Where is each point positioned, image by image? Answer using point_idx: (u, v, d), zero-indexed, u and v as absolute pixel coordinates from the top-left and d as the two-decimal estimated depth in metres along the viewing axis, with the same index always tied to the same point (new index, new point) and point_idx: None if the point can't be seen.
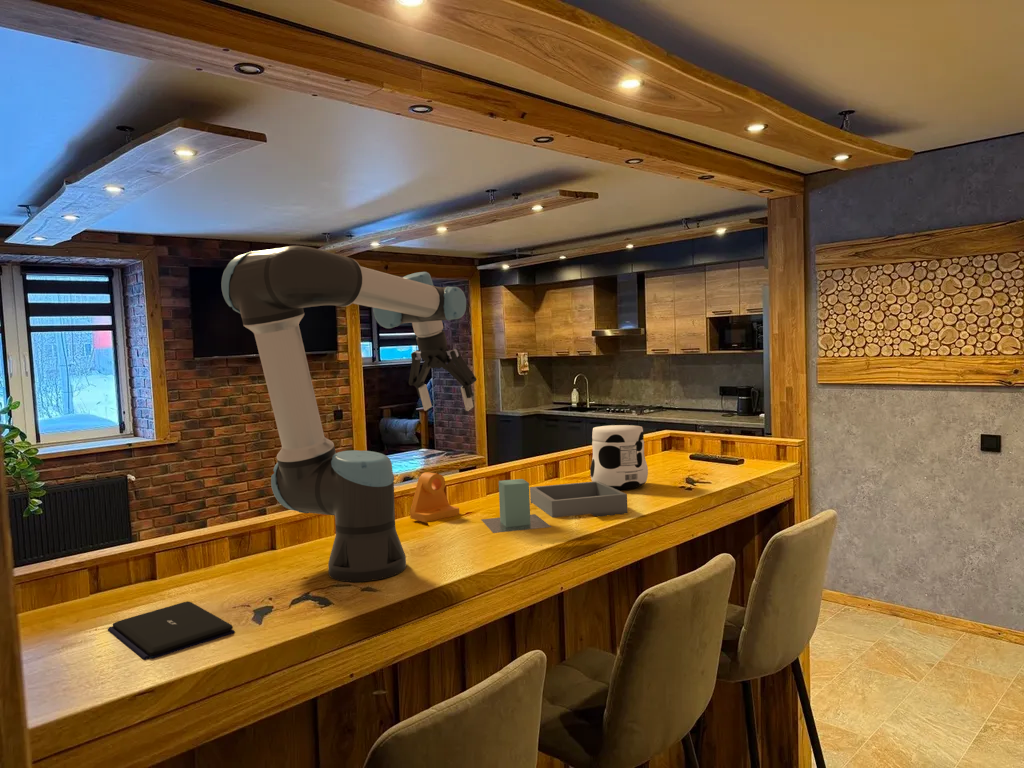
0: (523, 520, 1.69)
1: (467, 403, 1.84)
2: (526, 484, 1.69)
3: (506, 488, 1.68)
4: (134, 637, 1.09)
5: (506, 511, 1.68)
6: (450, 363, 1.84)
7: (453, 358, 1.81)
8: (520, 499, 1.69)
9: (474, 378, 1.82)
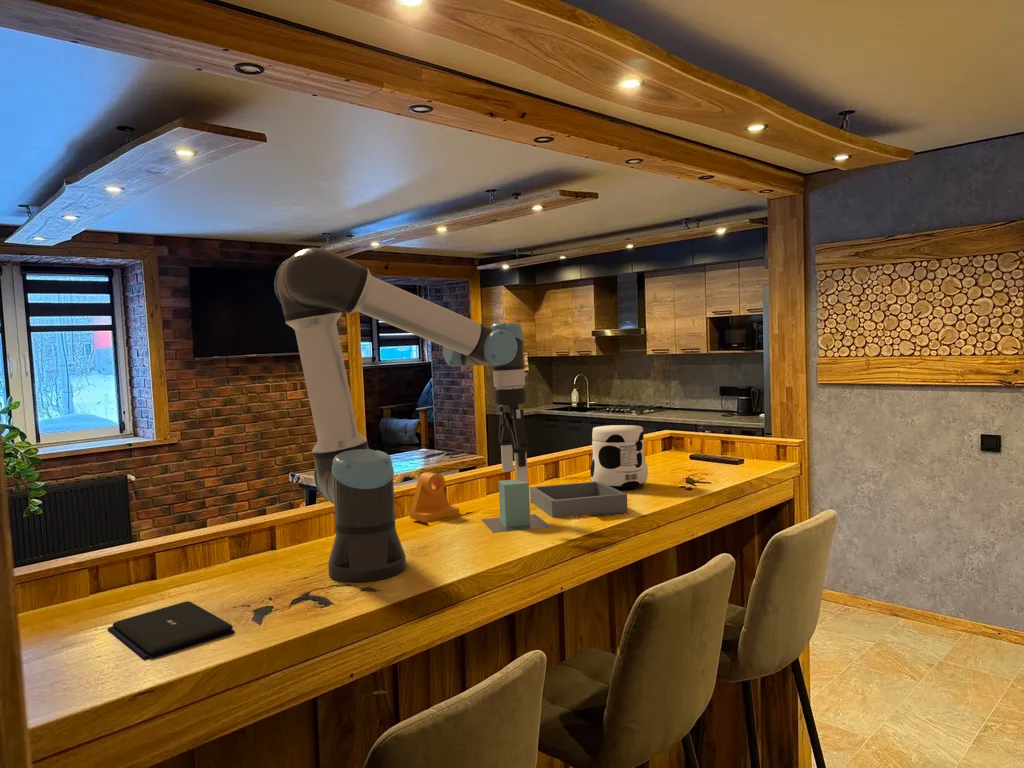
0: (523, 520, 1.69)
1: (517, 472, 1.64)
2: (526, 484, 1.69)
3: (506, 488, 1.68)
4: (134, 637, 1.09)
5: (506, 511, 1.68)
6: None
7: (513, 418, 1.64)
8: (520, 499, 1.69)
9: (526, 446, 1.62)
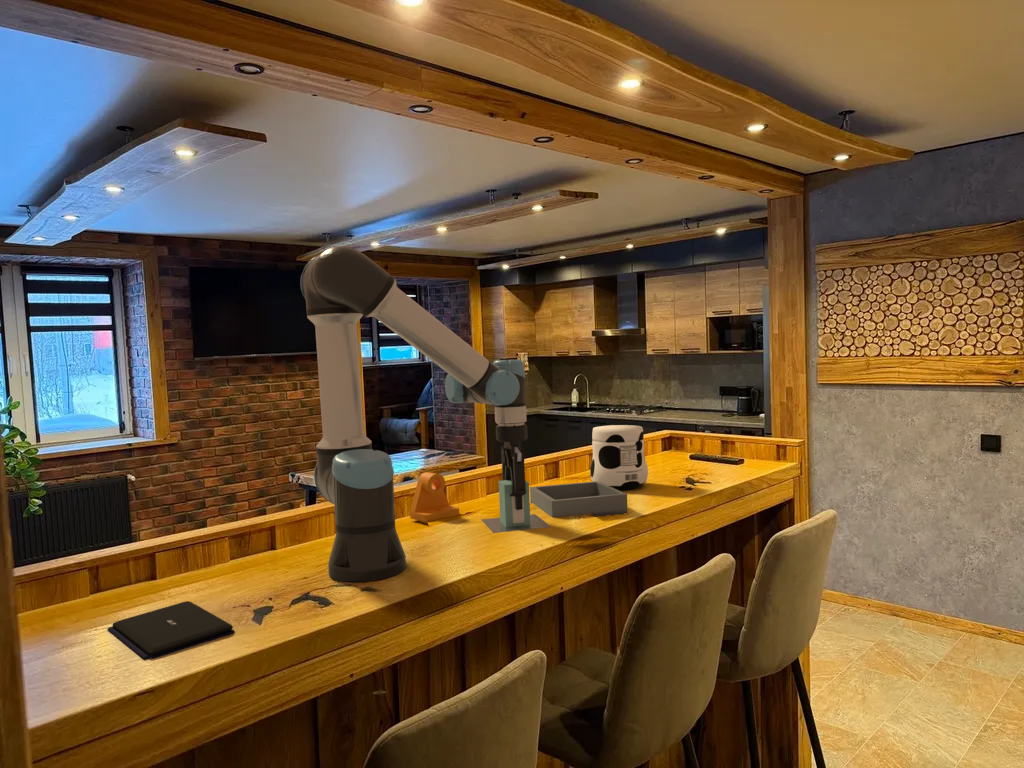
0: None
1: (514, 515, 1.68)
2: (526, 484, 1.69)
3: (506, 488, 1.68)
4: (134, 637, 1.09)
5: (506, 511, 1.68)
6: None
7: (513, 460, 1.65)
8: None
9: (523, 491, 1.65)
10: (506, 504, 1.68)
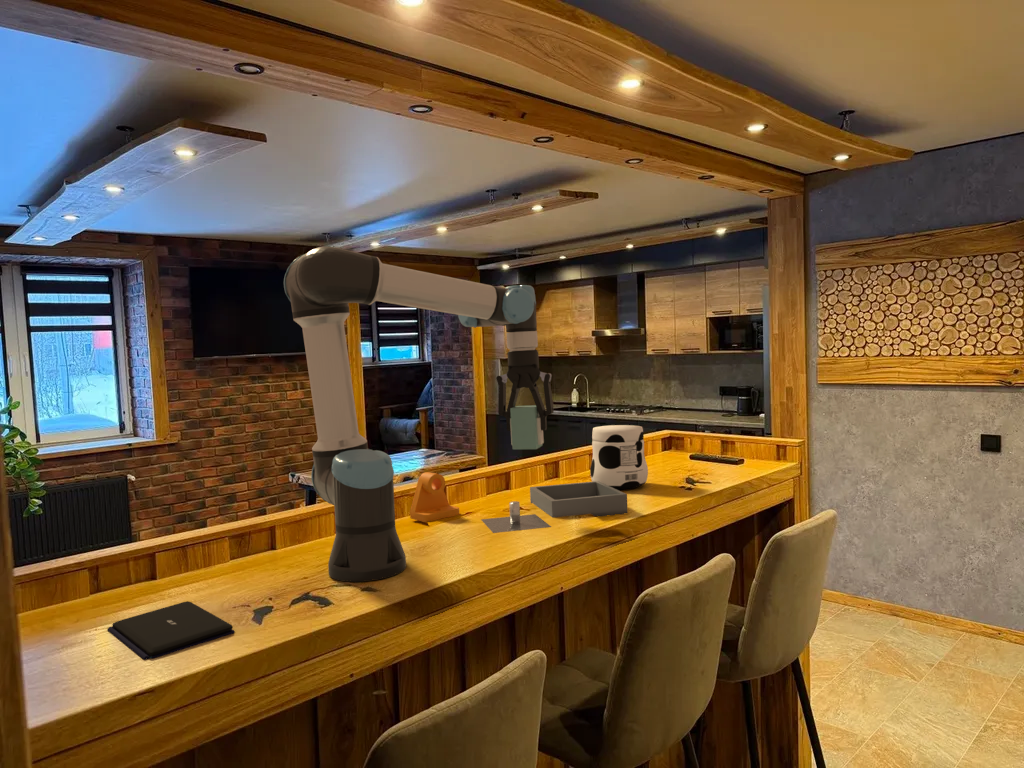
0: None
1: (540, 436, 1.72)
2: None
3: (535, 411, 1.71)
4: (134, 637, 1.09)
5: (536, 433, 1.71)
6: (536, 387, 1.73)
7: (545, 381, 1.71)
8: None
9: (552, 410, 1.73)
10: (535, 426, 1.71)
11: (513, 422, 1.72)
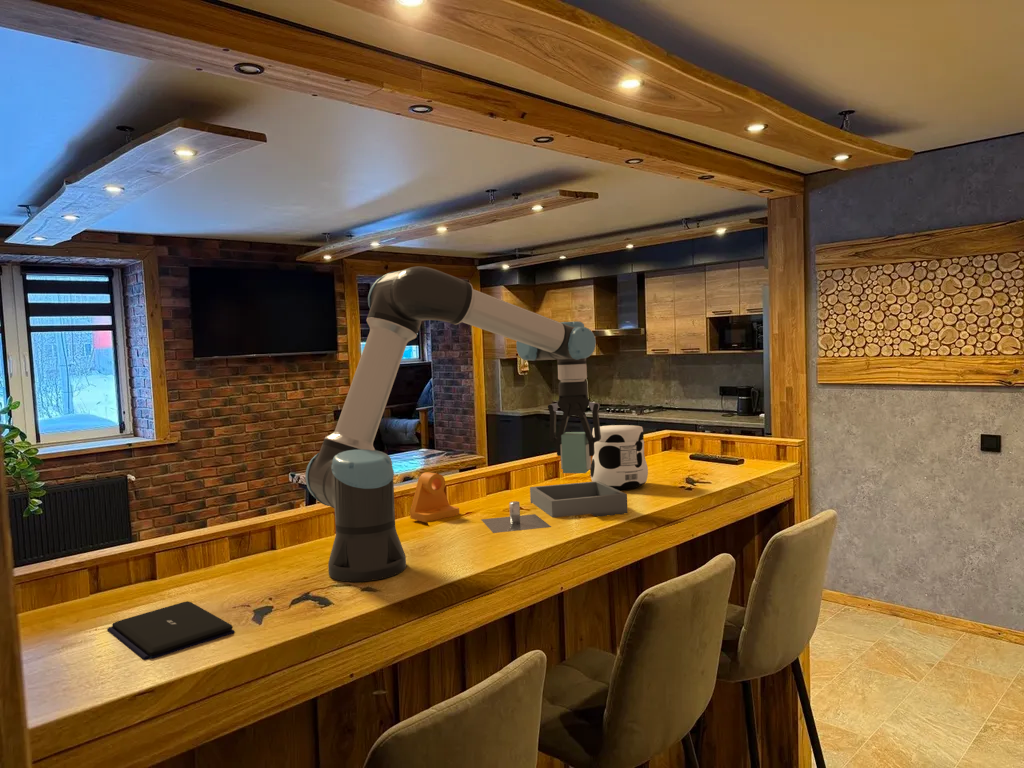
0: None
1: (589, 461, 1.86)
2: None
3: (584, 437, 1.84)
4: (134, 637, 1.09)
5: (585, 458, 1.84)
6: (585, 416, 1.87)
7: (594, 410, 1.84)
8: None
9: (600, 437, 1.86)
10: (585, 452, 1.84)
11: (564, 448, 1.85)
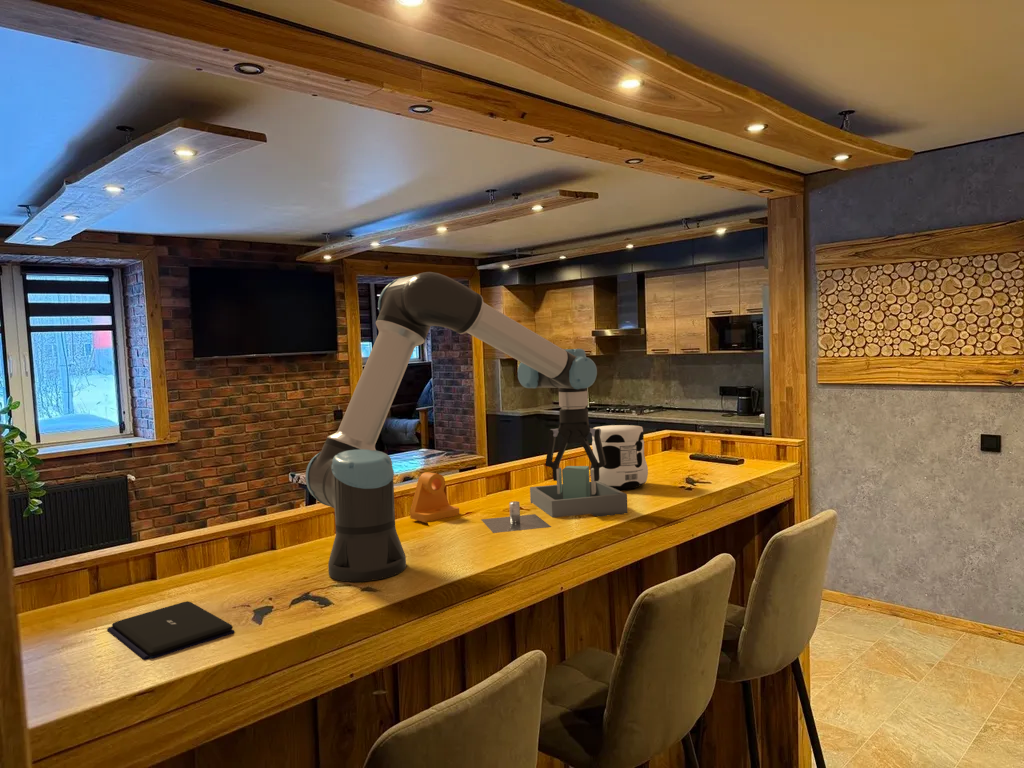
0: None
1: (594, 486, 1.86)
2: (588, 467, 1.89)
3: (585, 472, 1.85)
4: (134, 637, 1.09)
5: (586, 493, 1.85)
6: (587, 442, 1.87)
7: (596, 436, 1.85)
8: (588, 481, 1.88)
9: (605, 462, 1.86)
10: (585, 487, 1.85)
11: (565, 482, 1.86)
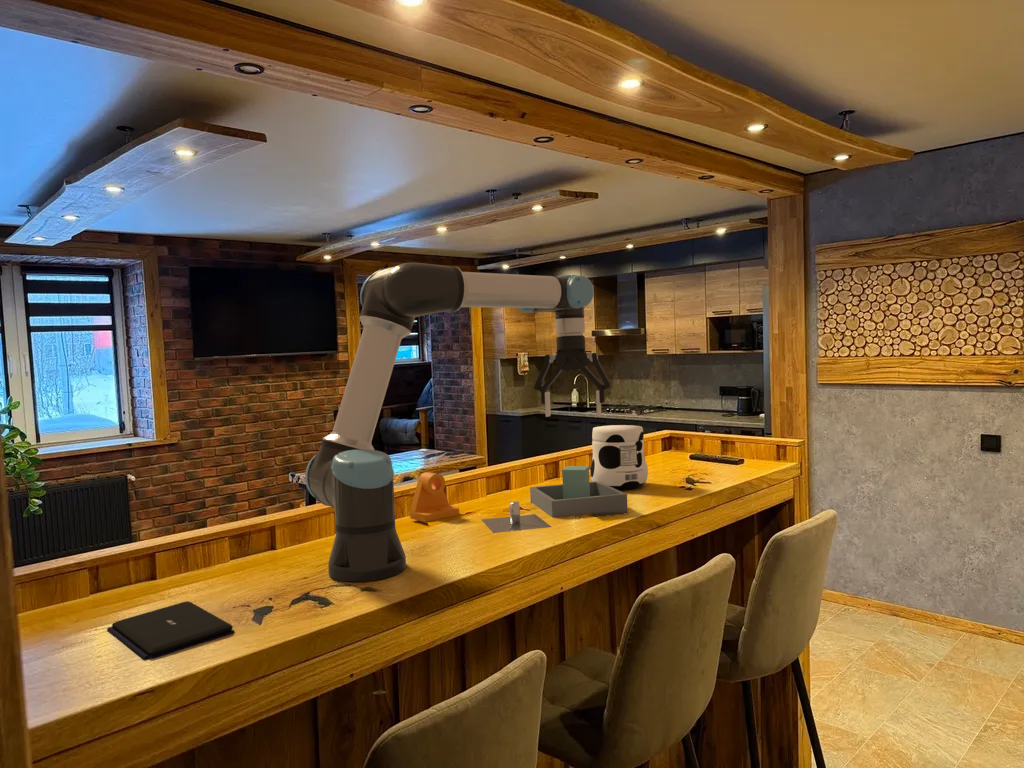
0: None
1: (599, 408, 1.84)
2: (588, 467, 1.89)
3: (585, 472, 1.85)
4: (134, 637, 1.09)
5: (586, 493, 1.85)
6: (586, 367, 1.86)
7: (594, 360, 1.84)
8: (588, 481, 1.88)
9: (610, 383, 1.85)
10: (585, 487, 1.85)
11: (565, 482, 1.86)
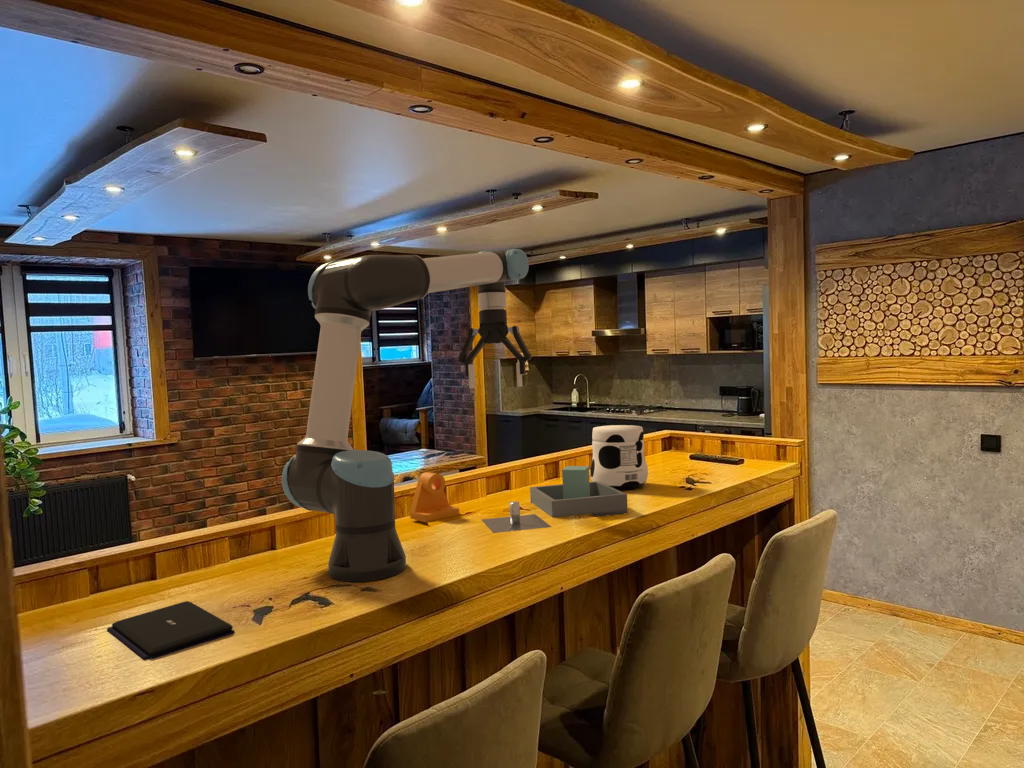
0: None
1: (519, 379, 1.91)
2: (588, 467, 1.89)
3: (585, 472, 1.85)
4: (134, 637, 1.09)
5: (586, 493, 1.85)
6: (508, 340, 1.93)
7: (514, 333, 1.91)
8: (588, 481, 1.88)
9: (530, 355, 1.92)
10: (585, 487, 1.85)
11: (565, 482, 1.86)
